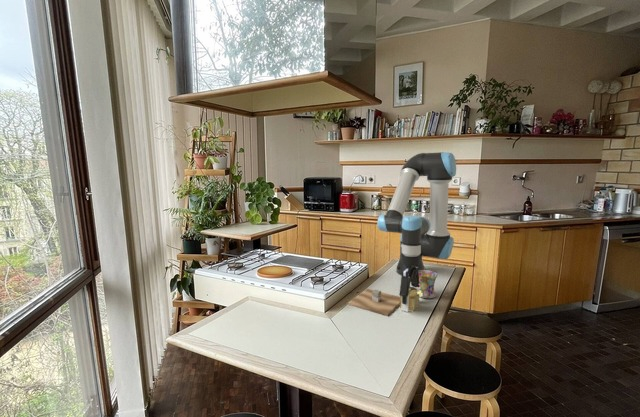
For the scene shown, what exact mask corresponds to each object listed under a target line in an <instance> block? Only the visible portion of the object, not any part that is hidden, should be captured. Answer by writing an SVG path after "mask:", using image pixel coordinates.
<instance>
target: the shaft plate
mask: <svg viewBox="0 0 640 417" xmlns="http://www.w3.org/2000/svg"><path fill="white" fill-rule="evenodd" d="M347 305H348V306H351V307H355V308H357V309H361V310H365V311H367V312H368V311H369V312H372V313H376V314H378V315H382V316H386V317H388V316H390V315H391V314H392V313H393V312H394V311H395V310H396V309H397V308H398V307H400V295H394V294H390V293H387V292H383V291H382V290H378V289H371V288H366V289H365V290H364V291H362V292H360V293H359V294H358V295H356V296H355V297H353V298H352V299H351V300H349V301H348V302H347Z"/></svg>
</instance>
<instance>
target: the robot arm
mask: <svg viewBox="0 0 640 417" xmlns="http://www.w3.org/2000/svg"><path fill="white" fill-rule="evenodd" d="M456 174H457V162H456V157H455V156H454V153H452V152H448V151H447V152H443V151H442V152H420V153H417V154H414V155H413V156H411V157H410V158H409V159H408V160H407V161H406V162H405V163H404V164H403V166H402V167H401V170H400V172H399V176H400V177H399V180H398V183H397V184H396V188H395V190H394V193H393V196H392V198H391V201H390V204H389V205H388V209H387V211H386V213H385V214H380V215H379V216H378V218H377V224H376V225H377V229H378V231H380V232H381V231H382V232H386V233H395V234H400V240H399V245H400V246H399V259H398V263H397V265H396V273H397V274H398V275H401V278H400V285H399V286H400V287H399V295H398V296H399V297H400V296H402V303H401V309H400V310H401V311H403V312H405V313H409V311H410V310H409V296H408V293H409V287H414V288H416V289H418V287H420V285H418V284H419V270H426V269H425V265H424V261H423V257H427V258H433V259H438V260H448V259H449V258H450V256H451V255H452V251H453V248H454V237H453V236H451V232H450V231H449V230H448V217H449V216H448V215H449V214H448V211H449V210H448V208H449V184H450V182H452V180H453V177H455V176H456ZM420 177H426V181H428V183H429V219H428V218H427V217H426V216H425V217H424V216H418V215H405V216H404V214H405V211H406V208H407V207H408V206H407V205H408V203H409V201H410V198H411V195H412V192H413V189H414V186H415V183H416V182H417V181H419V179H420Z"/></svg>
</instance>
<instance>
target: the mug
mask: <svg viewBox="0 0 640 417" xmlns="http://www.w3.org/2000/svg"><path fill="white" fill-rule="evenodd" d="M437 278H438V273H437V272H435V271H433V270H428V269H425V270H419V284H418V285H420V287H417V294H419V298H422V299H433V298H435V297H436V296H437V294H436V291H435V282H436V279H437Z"/></svg>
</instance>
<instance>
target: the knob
mask: <svg viewBox="0 0 640 417" xmlns="http://www.w3.org/2000/svg"><path fill="white" fill-rule="evenodd" d="M417 289H418V288H417ZM417 289H416V288H414V287H413V286H412V287H411V286H410V287H409V293H408V296H409V310H408V311H412V312H415V311H416V310H417V309H418V308H419V306H420V297H419V294H417ZM399 297H400V305H399V308H401V303H402V296H400V295H399Z"/></svg>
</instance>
